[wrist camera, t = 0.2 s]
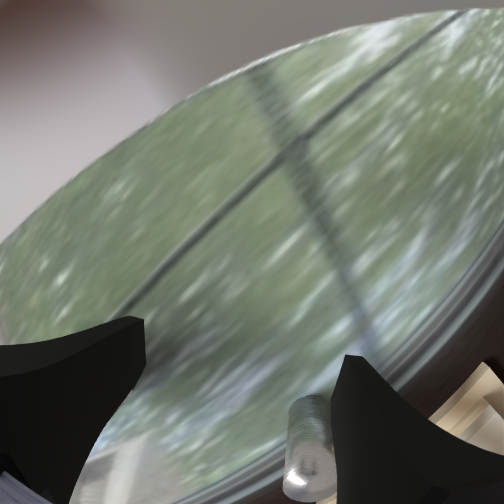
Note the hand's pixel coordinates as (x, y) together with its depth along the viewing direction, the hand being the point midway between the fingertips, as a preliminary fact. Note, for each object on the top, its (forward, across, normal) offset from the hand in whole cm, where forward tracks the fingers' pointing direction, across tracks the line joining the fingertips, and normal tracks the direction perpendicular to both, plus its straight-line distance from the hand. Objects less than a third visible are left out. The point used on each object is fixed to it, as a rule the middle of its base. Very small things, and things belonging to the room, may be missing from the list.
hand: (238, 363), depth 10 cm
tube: (+9, -5, +10) cm, 15 cm away
